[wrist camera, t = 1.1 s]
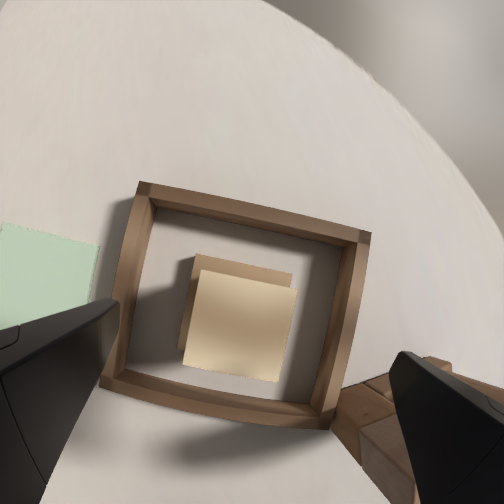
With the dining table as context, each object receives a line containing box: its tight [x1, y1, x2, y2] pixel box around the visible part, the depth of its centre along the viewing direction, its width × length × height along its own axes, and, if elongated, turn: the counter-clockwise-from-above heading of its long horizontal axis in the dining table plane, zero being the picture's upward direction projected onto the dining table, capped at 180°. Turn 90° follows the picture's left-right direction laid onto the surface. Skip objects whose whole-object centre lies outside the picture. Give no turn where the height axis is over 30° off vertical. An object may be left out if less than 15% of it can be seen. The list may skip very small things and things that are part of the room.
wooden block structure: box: [330, 356, 504, 504], centre depth 15 cm, size 4×11×18 cm, turn 102°
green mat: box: [0, 222, 99, 330], centre depth 22 cm, size 11×11×1 cm
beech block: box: [183, 269, 298, 382], centre depth 18 cm, size 4×4×8 cm
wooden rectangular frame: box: [99, 181, 372, 430], centre depth 22 cm, size 15×17×3 cm
